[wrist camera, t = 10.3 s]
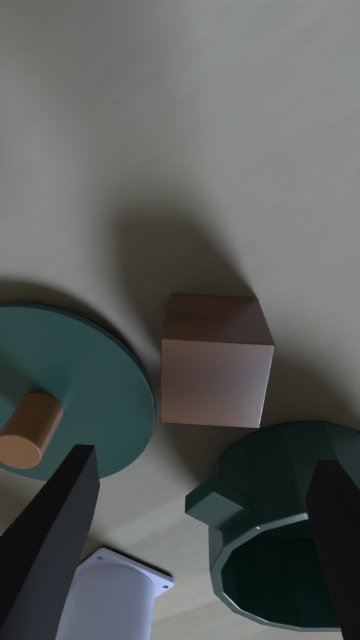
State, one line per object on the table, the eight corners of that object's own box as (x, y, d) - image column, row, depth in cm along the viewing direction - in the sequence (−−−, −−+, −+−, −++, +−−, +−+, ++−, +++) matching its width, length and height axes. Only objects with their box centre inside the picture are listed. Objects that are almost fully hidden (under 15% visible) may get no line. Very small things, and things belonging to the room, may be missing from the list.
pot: (318, 568, 29) (344, 661, 24) (144, 476, 25) (129, 566, 19) (455, 496, 24) (526, 595, 19) (267, 365, 19) (291, 446, 14)
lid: (90, 494, 26) (70, 556, 22) (-89, 407, 23) (-148, 463, 19) (201, 384, 20) (202, 441, 16) (-13, 247, 17) (-76, 278, 13)
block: (246, 369, 20) (259, 428, 16) (168, 365, 20) (160, 422, 16) (257, 297, 18) (275, 344, 13) (169, 293, 18) (161, 338, 14)
